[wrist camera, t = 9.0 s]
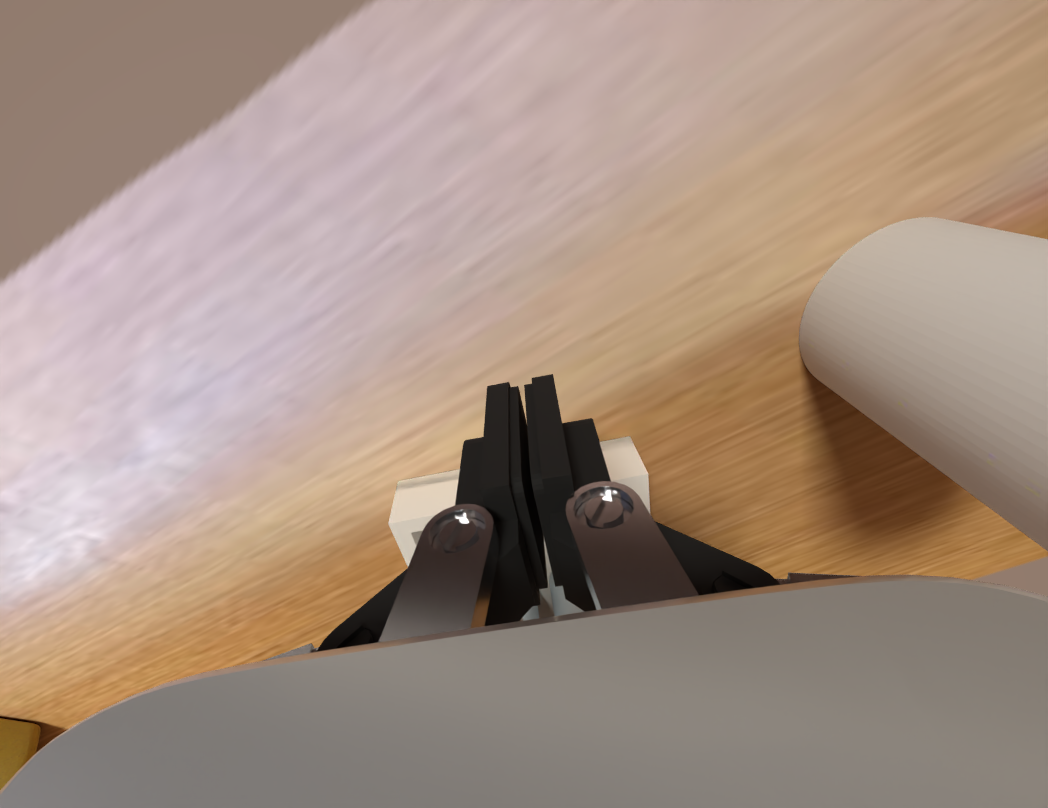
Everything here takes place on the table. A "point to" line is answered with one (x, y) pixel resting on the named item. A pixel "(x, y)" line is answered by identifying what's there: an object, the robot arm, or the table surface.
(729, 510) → the table surface
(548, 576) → the tray
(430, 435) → the table surface
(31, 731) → the flower pot
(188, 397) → the table surface
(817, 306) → the white cylinder
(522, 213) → the table surface
